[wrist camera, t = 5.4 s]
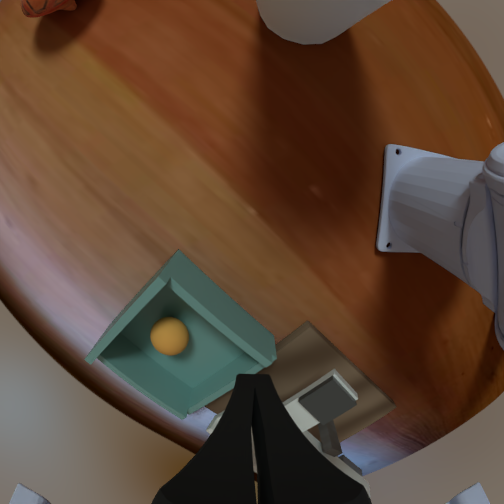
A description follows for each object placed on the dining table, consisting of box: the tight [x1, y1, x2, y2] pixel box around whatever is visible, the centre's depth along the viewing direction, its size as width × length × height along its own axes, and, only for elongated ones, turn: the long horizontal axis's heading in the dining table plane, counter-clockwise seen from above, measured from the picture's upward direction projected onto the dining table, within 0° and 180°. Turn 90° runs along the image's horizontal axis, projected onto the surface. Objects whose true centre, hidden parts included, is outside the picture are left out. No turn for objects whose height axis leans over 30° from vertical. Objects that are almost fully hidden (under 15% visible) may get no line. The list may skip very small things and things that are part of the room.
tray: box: [206, 369, 371, 497], centre depth 19 cm, size 16×11×5 cm, turn 44°
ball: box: [150, 317, 189, 356], centre depth 20 cm, size 3×3×3 cm
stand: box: [205, 321, 396, 457], centre depth 22 cm, size 17×13×8 cm
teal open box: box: [85, 249, 277, 419], centre depth 20 cm, size 10×10×5 cm
